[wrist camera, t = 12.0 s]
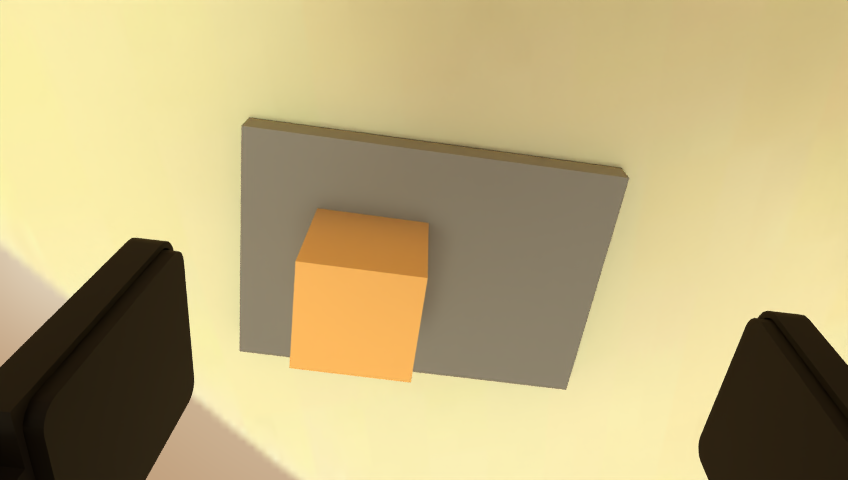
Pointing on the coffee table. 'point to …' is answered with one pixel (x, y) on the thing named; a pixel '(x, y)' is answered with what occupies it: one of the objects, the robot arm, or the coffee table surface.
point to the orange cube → (359, 295)
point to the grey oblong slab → (437, 242)
